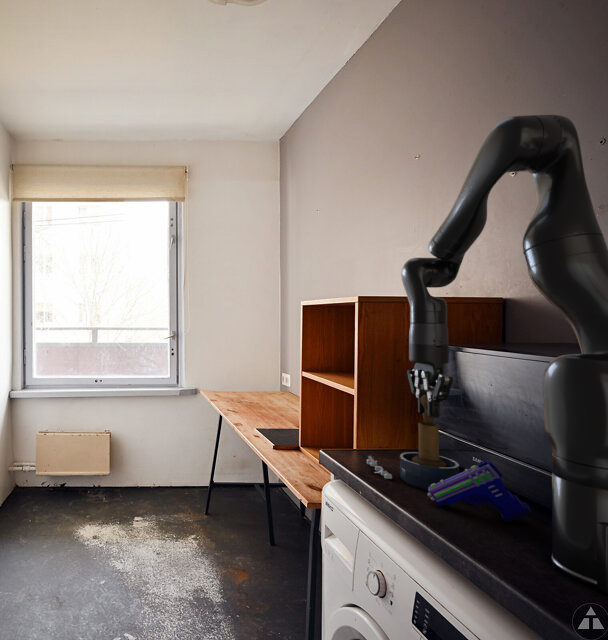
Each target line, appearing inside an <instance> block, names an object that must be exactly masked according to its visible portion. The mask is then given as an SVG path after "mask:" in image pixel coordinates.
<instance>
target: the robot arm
mask: <svg viewBox="0 0 608 640" xmlns="http://www.w3.org/2000/svg"><path fill="white" fill-rule="evenodd" d="M507 173H528V174H529V175H530V177H531V179H532V181H533V184H534V188H535V192H536V193H535V194H536V205H535V208H534V210H533V213H532V215H531V217H530V219H529V221H528V223H527V225H526V227H525V230H524V233H523V235H522V240H521V250H522V254H523V258H524V262H525V265H526V269H527V271H528V275H529V279H530V281H531V283H532V284H533V286H534V287H535V288H536V289H537V290H538V292H539V293H540V294H541V295H542V296H543V297H544V298H545V300H547V301H548V302H549V304H551V306H553V307H554V308H555V310H557V312H558V313H560V314H561V316H562V317H563V318H564V319H565V320H566V322H568V324H569V325H570V327H571V328H572V330H573V332H574V335H575V337H576V339H577V342H578V345H579V348H580V352H581V353H569V354H563V355H560V356H557V357H556V358H554V359H552V360H551V361H550V362H549V363H548V364H547V365H546V367H545V369H544V371H543V374H542V380H541V395H542V397H541V398H542V407H543V409H542V410H543V422H544V423H543V424H544V430H545V433H546V436H547V437H548V440H549V442H550V444H551V539H552V541H551V544H552V545H551V547H552V549H551V551H552V553H551V565H553V567H555V568H556V569H557V570H558V571H560V572H561V573H562V574H564V575H566V576H568V577H570V578H572V579H574V580H576V581H578V582H581V583H583V584H585V585H587V586H591V587H593V588H596V589H598V590H600V591H602V592H603V593H605V594H608V245H607V242H606V240H605V237H604V234H603V231H602V229H601V227H600V224H599V222H598V218H597V216H596V215H597V214H596V212H595V209H594V205H593V202H592V198H591V195H590V194H591V193H590V190H589V188H588V185H587V180H586V176H585V175H586V174H585V167H584V162H583V155H582V149H581V144H580V138H579V133H578V131H577V128H576V126H575V123H574V122H573V121H572V120H571V119H570V118H568V117H566V116H564V115H561V114H532V115H527V114H526V115H516V116H515V115H514V116H509V117H507V118H504V119H502V120H501V121H499V122H498V123H496V124H495V125H494V126H493V127H492V128H491V130H490V131H489V132H488V134H487V135H486V137H485V138H484V140H483V141H482V143H481V145H480V147H479V149H478V151H477V153H476V156H475V157H474V160H473V162H472V164H471V166H470V169H469V170H468V172H467V175H466V177H465V179H464V181H463V183H462V186H461V188H460V191H459V192H458V195H457V197H456V199H455V201H454V203H453V205H452V207H451V209H450V211H449V212H448V214H447V215H446V217H445V218H444V220H443V221H442V223H441V224H440V225H439V227H438V229H437V230H436V231H435V232H434V234H433V236H432V237H431V239H430V240H429V242H428V246H427V249H428V251H429V253H430V254H431V256H433V257H412V258H410V259H408V260H407V261H405V263H404V264H403V266H402V269H401V272H400V275H401V282H402V285H403V288H404V290H405V294H406V298H407V301H408V304H409V309H410V310H409V313H410V314H409V315H410V316H409V321H410V323H409V329H408V330H409V331H408V360H409V361H410V362H411V363H414V366H413V369H408V370H407V371H406V374H407V379H408V383H409V387H410V391H411V393H412V394H413V395H415V397H416V399H417V412H418V414H420V415H423V413H424V412H425V408H424V406H423V405H422V403H421V397H422V396H423V395H425V394H427V397H428V401H427V410H428V417H430V418H434V419H438V418H440V416H441V415H440V414H441V410H440V409H441V405H440V404H441V402H443V401H448V398H449V395H450V392H451V389H452V385H453V382H454V378H453V377H452V376H447V375H446V374H445V370H444V364H448V363H449V361H450V356H449V355H450V354H449V353H450V352H449V351H450V350H449V349H450V345H449V342H450V341H449V340H450V339H449V338H450V337H449V327H448V304H447V301H446V300H445V299H444V298H441V297H437V296H432V295H431V294H430V292H429V290H428V288H430V289H431V288H445V287H447V286H449V285H450V284H452V283H453V282H454V281H455V280H456V278H457V277H458V274H459V271H460V268H461V265H462V263H463V260H464V258H465V255H466V253H467V252H468V251H469V249H470V248H471V247H472V246H473V245H474V243H475V242H476V241H477V240H478V238H479V237H480V235H481V234H482V233H483V231H484V229H485V227H486V225H487V221H488V220H487V219H488V200H489V196H490V194H491V191H492V190H493V188H494V186H495V185H496V184H497V183H498V181H500V180H501V178H502V177H503V176H504V175H505V174H507Z"/></svg>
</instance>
